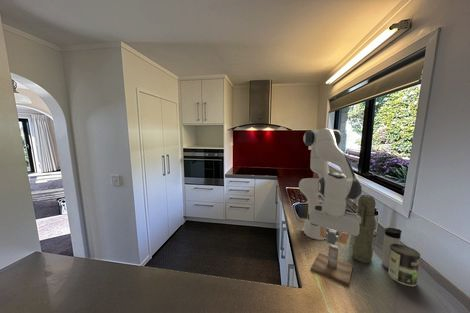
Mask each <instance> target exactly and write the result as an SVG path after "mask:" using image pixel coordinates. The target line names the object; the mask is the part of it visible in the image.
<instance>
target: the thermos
mask: <svg viewBox="0 0 470 313" xmlns="http://www.w3.org/2000/svg"><path fill="white" fill-rule="evenodd" d="M357 202H358V203H357V212H356V214H357V215H359V216H360V217H361V223H360V224H359V235H357V236H354V243H353V244H352V258H353V259H354V260H356V261H358V262H360V263H363V264H371V263H372V259H373V255H374V254H373V253H374V252H373V250H374V249H373V238H374V231H375V229H376V217H375V212H376V206H377V205H376V199H375V197H374V196H371V195H369V194H361V195H360V196H359V197H358V200H357Z"/></svg>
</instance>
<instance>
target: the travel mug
mask: <svg viewBox="0 0 470 313" xmlns="http://www.w3.org/2000/svg"><path fill="white" fill-rule="evenodd" d="M401 235H402V230H401V229H399V228H393V227H386V228H384V237H383V247H382V256H381V266H383V267H384V268H385V269H387V270H388V269H389V258H390V245H391V244H400V245H401V238H402V237H401Z"/></svg>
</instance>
